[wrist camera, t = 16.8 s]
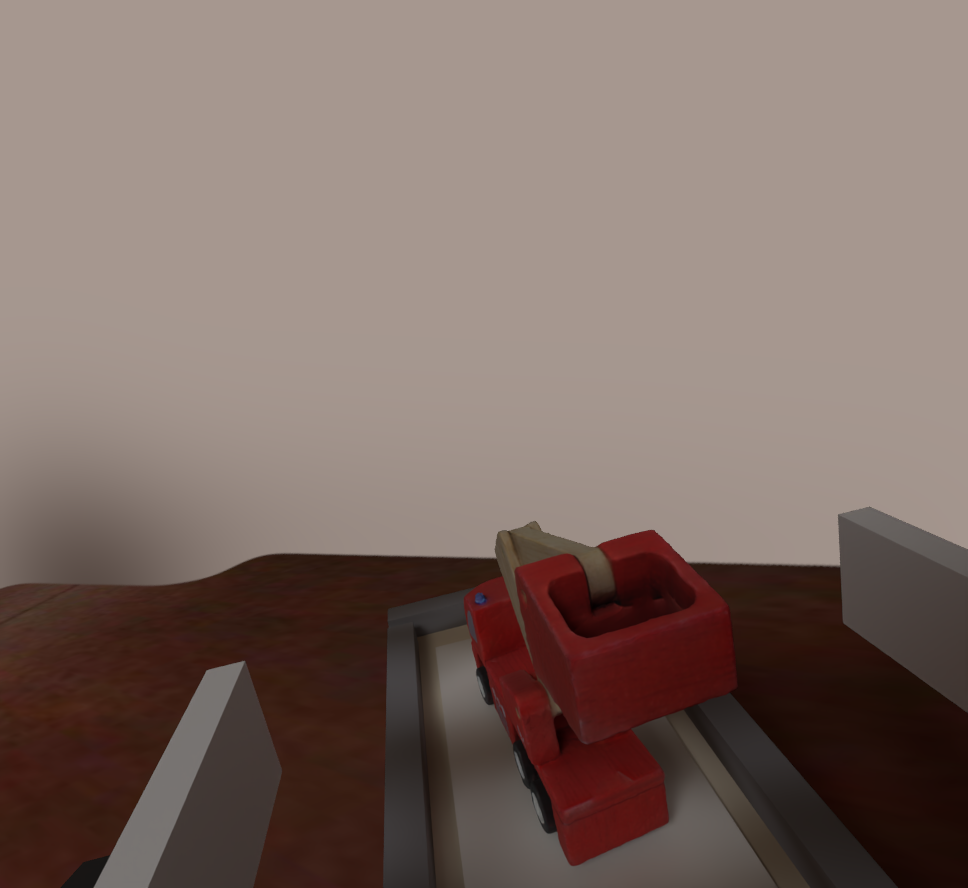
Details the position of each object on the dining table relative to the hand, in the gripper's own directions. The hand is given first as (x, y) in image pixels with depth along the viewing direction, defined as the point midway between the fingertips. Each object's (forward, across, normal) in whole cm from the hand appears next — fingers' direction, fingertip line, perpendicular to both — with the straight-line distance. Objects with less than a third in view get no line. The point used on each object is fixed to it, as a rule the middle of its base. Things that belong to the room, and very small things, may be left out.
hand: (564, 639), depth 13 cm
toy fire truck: (+4, 0, -8) cm, 9 cm away
